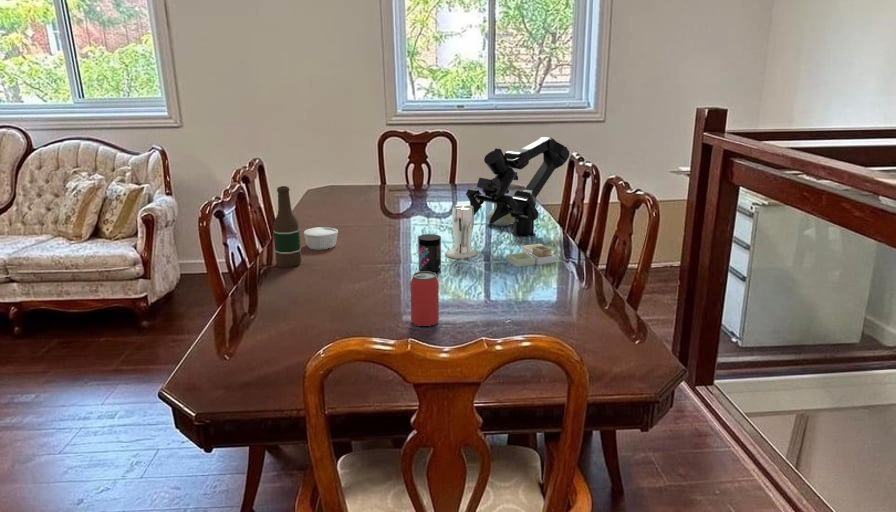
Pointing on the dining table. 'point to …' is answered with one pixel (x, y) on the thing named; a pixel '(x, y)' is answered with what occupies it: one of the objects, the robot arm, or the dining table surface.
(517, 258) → the sage dish
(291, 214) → the beer bottle
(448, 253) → the stone coaster
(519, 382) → the dining table surface
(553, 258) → the pale blue dish
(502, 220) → the air freshener
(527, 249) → the cream dish
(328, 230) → the ramekin
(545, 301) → the dining table surface
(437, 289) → the beer can
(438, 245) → the supplement container
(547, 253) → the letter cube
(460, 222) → the beer glass
